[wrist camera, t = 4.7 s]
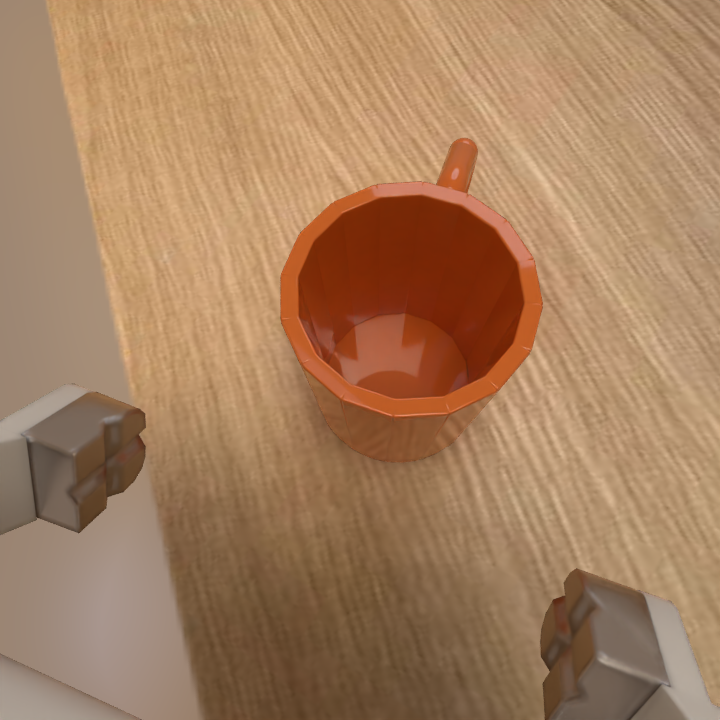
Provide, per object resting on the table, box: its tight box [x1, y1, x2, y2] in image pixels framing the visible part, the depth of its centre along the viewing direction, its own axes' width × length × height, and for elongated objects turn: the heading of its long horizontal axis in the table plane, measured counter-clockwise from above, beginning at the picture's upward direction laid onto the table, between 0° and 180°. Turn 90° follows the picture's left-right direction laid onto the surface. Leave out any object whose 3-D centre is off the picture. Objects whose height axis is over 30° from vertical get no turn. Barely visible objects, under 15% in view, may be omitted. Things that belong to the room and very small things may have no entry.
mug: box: [281, 138, 543, 462], centre depth 16 cm, size 9×6×8 cm
